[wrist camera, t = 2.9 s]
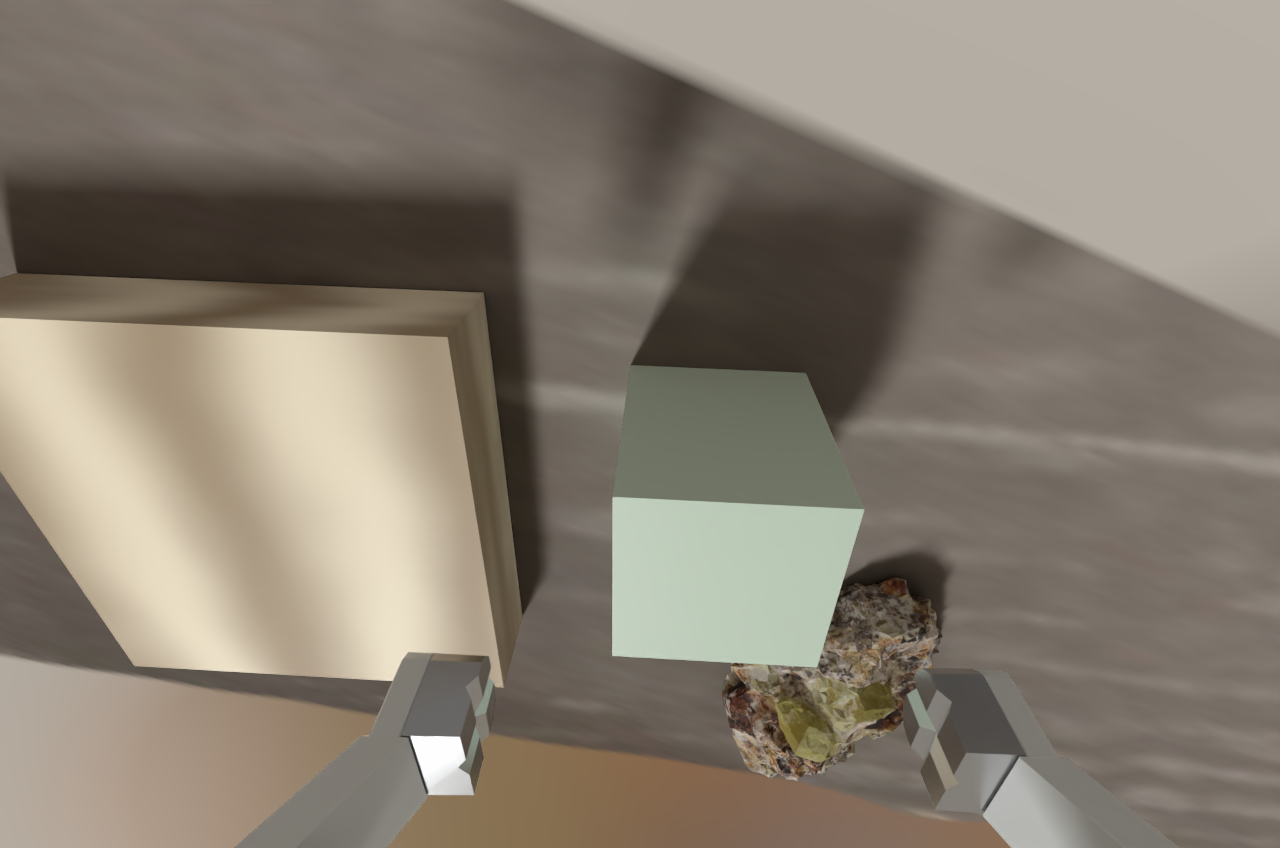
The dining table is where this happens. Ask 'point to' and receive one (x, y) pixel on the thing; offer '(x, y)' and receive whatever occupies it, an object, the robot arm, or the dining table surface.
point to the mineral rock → (834, 684)
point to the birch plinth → (265, 469)
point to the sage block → (728, 518)
